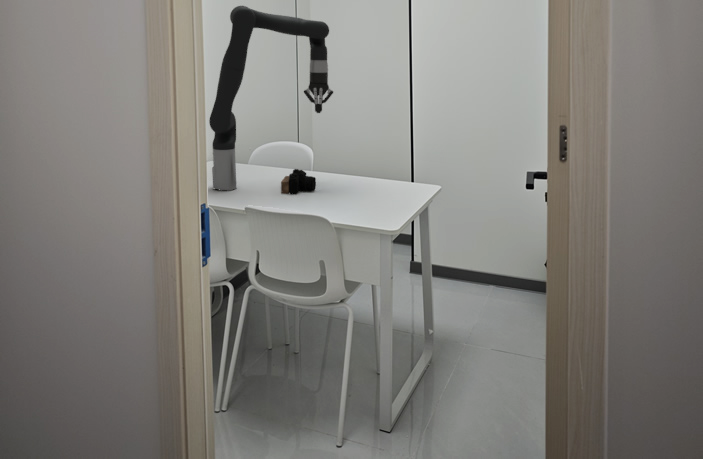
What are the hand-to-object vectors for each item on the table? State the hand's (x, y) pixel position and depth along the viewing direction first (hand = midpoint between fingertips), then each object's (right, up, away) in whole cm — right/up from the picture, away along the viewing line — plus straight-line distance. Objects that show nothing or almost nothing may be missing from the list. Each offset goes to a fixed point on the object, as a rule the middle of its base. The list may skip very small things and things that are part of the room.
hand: (318, 112), depth 311 cm
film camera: (-7, -33, -1) cm, 34 cm away
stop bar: (-13, -33, -1) cm, 35 cm away
